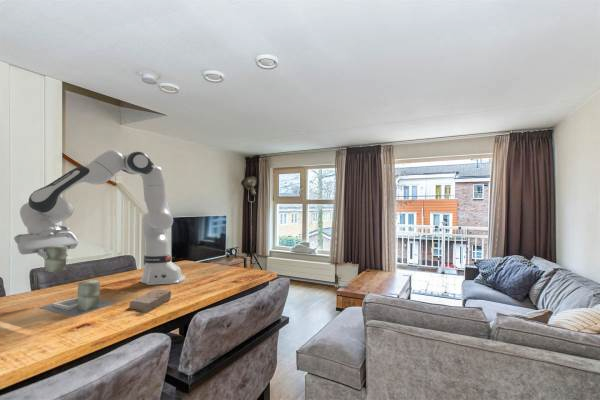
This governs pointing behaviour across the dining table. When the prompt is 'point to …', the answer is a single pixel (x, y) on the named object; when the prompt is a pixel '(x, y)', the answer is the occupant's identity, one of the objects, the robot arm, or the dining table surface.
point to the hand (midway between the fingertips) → (56, 257)
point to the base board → (72, 307)
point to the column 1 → (55, 258)
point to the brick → (150, 300)
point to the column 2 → (88, 295)
